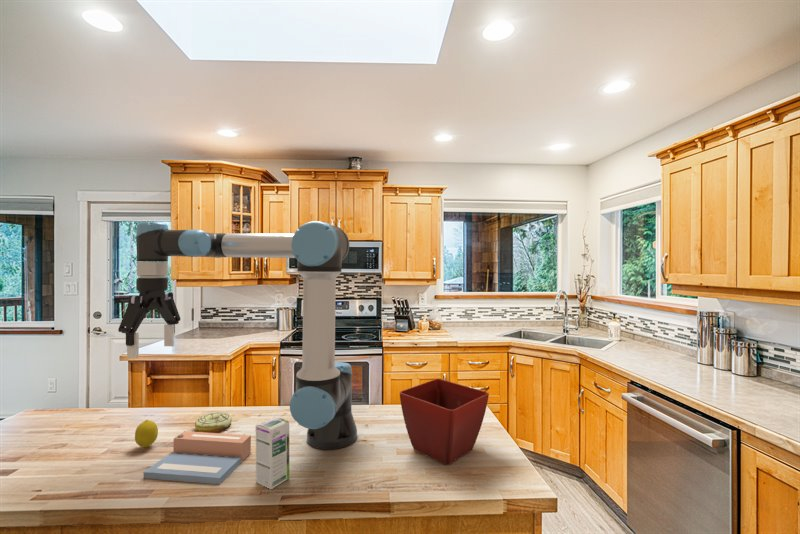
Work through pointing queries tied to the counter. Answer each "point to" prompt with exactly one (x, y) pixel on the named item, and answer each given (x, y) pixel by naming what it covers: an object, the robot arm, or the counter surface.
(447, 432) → the plant pot
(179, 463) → the board
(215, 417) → the decorated donut
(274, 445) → the syrup box
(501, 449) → the counter surface
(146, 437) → the lemon
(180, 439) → the pink rectangular bar
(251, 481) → the counter surface
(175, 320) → the robot arm
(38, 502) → the counter surface
